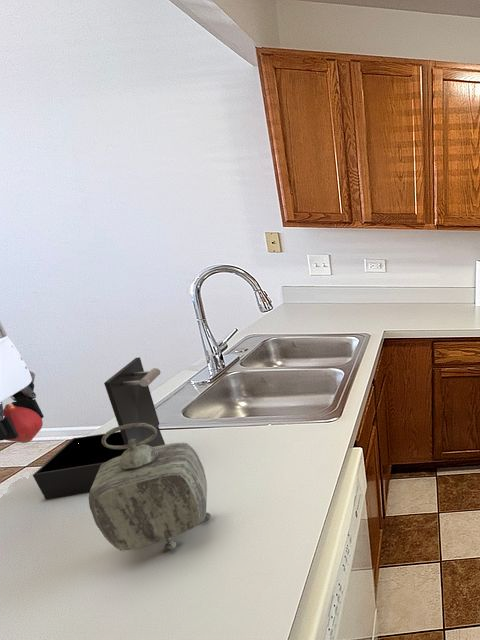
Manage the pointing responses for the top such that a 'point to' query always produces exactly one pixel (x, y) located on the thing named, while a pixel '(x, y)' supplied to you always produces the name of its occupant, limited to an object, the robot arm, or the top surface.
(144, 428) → the lid
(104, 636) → the top surface
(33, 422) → the red round piece
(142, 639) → the top surface
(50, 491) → the black shallow rectangular box
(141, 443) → the tabletop clock
